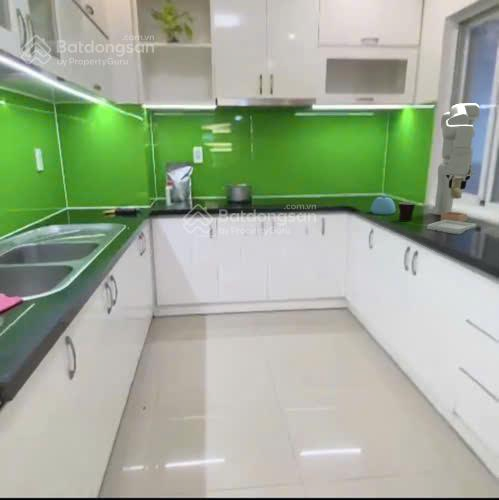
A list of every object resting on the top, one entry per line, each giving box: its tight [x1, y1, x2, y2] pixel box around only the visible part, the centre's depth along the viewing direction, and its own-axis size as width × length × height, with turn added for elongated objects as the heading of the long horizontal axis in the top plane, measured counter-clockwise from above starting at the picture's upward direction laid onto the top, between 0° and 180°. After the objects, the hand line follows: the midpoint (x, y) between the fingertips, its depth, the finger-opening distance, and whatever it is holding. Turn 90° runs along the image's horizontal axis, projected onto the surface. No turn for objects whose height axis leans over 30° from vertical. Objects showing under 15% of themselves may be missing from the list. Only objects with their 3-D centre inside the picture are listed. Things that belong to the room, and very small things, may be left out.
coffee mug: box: [398, 201, 416, 223], centre depth 219 cm, size 12×9×10 cm
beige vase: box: [450, 177, 463, 199], centre depth 194 cm, size 5×5×10 cm
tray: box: [427, 220, 477, 235], centre depth 199 cm, size 16×20×2 cm
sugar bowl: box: [370, 194, 396, 216], centre depth 245 cm, size 15×15×12 cm
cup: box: [440, 211, 468, 222], centre depth 215 cm, size 10×10×5 cm
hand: (456, 188), depth 194 cm, fingers closed on beige vase, 5 cm apart
